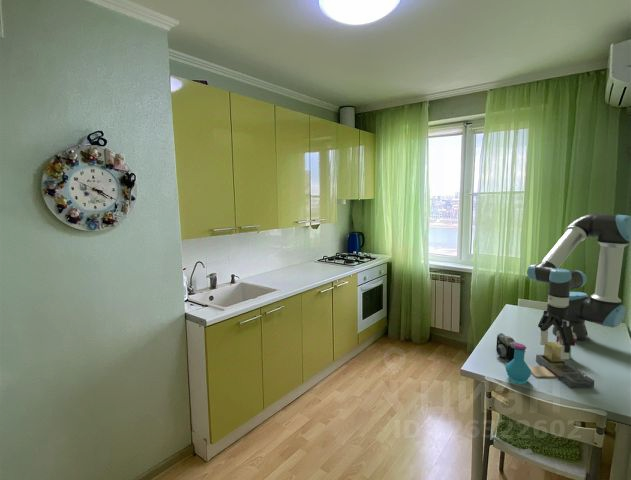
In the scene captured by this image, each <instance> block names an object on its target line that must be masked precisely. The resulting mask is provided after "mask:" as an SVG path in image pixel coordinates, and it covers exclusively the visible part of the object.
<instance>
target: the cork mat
mask: <svg viewBox="0 0 631 480" xmlns="http://www.w3.org/2000/svg"><path fill="white" fill-rule="evenodd" d="M528 367H529V368H530V370H531V375H532V376H534V377H535V378H537V379H539V378H540V379H541V378H548V379H550V378H553V379H554V378H557V377H556V376H555V375H554V374H552V373H551V372H550V371H549V370H547V369H546V368H545V367H544V366H542V365H539V366H528Z"/></svg>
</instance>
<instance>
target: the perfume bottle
mask: <svg viewBox="0 0 631 480" xmlns="http://www.w3.org/2000/svg"><path fill="white" fill-rule="evenodd" d="M513 346H514V349H515V351H514V359H513V360H511V361H509V362H508V363H507V364H505V371H506V373H507V374H506V375H507V376H508V377H507V378H508V380H509V381H510V382H512V383H514V384H518V385H519V384H520V385H525V384H527V383H528V382H527V381H528V380H529V378H530V377H531V376H532V374H531V370H530V368H529V367H530V366H529V365H528V363H526V361H525V352H526V349H527V347H526V345H525V344H523V343H518V342H517V343H516V344H514V345H513Z"/></svg>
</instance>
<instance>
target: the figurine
mask: <svg viewBox="0 0 631 480" xmlns="http://www.w3.org/2000/svg"><path fill="white" fill-rule="evenodd" d="M561 327H563V326H561ZM571 330H572V331H573V327H571ZM572 334H573V338H574V342H575V346H574V347H576V346H577V344H576V343H577V342H578V341H577V340H576V339H577V337H576V334H575V333H573V332H572ZM555 337H556V339H555V340H556V341H555V342H557V343H559V344H560V345H562V344H564V343H563V341H562V338H561V335H560V333H559V331H557V332H556V335H555ZM571 354H572V346H570V352H569V358H568V360H569V359H572V355H571Z"/></svg>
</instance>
